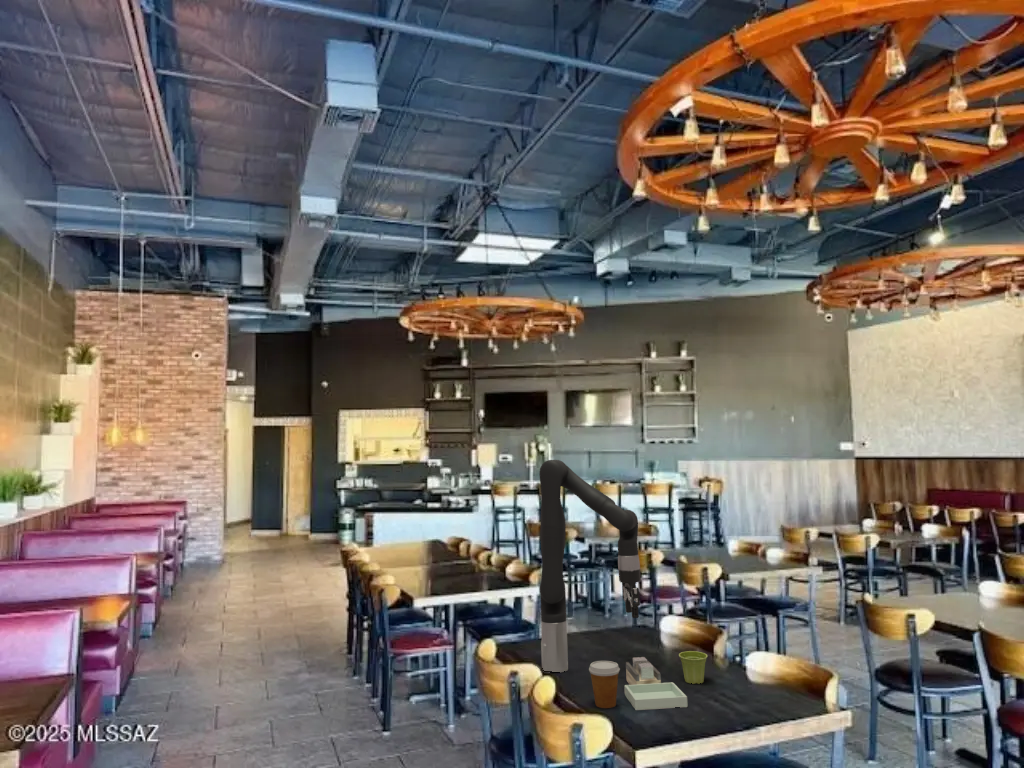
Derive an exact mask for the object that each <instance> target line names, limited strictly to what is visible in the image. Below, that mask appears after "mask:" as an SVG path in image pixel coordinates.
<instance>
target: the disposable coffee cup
mask: <svg viewBox="0 0 1024 768" xmlns="http://www.w3.org/2000/svg"><path fill="white" fill-rule="evenodd" d="M620 670H621V668H620V667H619V664H618V663H617V662H616V661H615V662H614V661H610V660H595V661H593V662H591V663H590V665H589V668H588V671H589V673H590V679H591V684H592V691H593V696H594V704H595V706H596V707H597V708H600V709H612V708H614V707H616V705H617V696H618V695H617V694H618V680H619V672H620Z"/></svg>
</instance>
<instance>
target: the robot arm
mask: <svg viewBox="0 0 1024 768" xmlns="http://www.w3.org/2000/svg"><path fill="white" fill-rule="evenodd" d="M539 484H540V485H539V486H540V494H541V495H540V496H541V499H540V500H541V501H540V504H541V505H540V524H539V525H540V534H539V535H540V537H539V538H540V550H541V552H540V553H541V559H542V561H541V562H542V565H541V566H542V568H541V578H540V579H541V580H540V584H539V585H540V586H539V593H540V623H541V624H540V625H541V627H540V630H541V641H540V649H541V650H540V655H541V669H542V668H543V669H542V671H543V670H544V671H552V672H560V673H564V671H565V672H567V671H568V670H569V659H568V658H569V654H568V650H569V649H568V630H567V629H568V627H567V626H568V625H567V623H568V622H567V600H566V595H567V594H566V583H565V579H564V571H563V570H564V568H563V566H564V563H563V561H564V557H565V555H564V554H565V547H566V535H567V534H566V533H567V532H566V529H567V528H566V525H567V523H566V518H565V517H566V516H565V513H564V508H563V504H562V499H561V494H562V493H561V492H562V491H561V489H562V487H563V488H564V489H567V490H568V491H569V492H571V493H572V494H573V495H575V496H576V497H577V498H578V499H579V500H580V501H581V502H582V503H584V504H585V506H587V507H588V508H590V509H591V510H592V511H594V512H595V513H597V514H598V515H600V516H601V517H602V518H604V519H605V520H606V521H607V522H608V523H609V525H612V526H613V527H614V528H615V529H617V530H619V538H618V540H617V566H618V581H619V582H620V583H621V585H622V587H621V588H622V598H623V601H624V604H625V605H624V606H625V613H627V614H629V613H631V617H632V619H638V618H639V614H640V613H639V606H641V599H640V588H639V587H637V585H636V584H637V583H639V582H641V581H642V580H641V565H640V564H641V563H640V557H639V545H638V534H639V520H638V516H637V513H635V511H633V510H631V509H625V510H624V509H623V508H621V507H620V506H619V505H618V504H616V501H614V499H612V498H611V497H609V496H608V495H606V494H605V493H603V492H602V491H600V490H599V489H597V488H596V487H594V486H592V485H591V484H589V483H588V482H587V481H586V480H584V479H582V478H581V477H580V476H579V475H578V474H576V473H575V472H574V471H573V470H572V469H571V468H570V467H569V466H568V465H567V464H566V463H564V462H563V461H562V460H560V459H547V460H546V461H544V462H543V463H542V464H541V466H540V468H539ZM544 671H543V672H544Z"/></svg>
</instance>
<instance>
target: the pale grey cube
mask: <svg viewBox="0 0 1024 768" xmlns="http://www.w3.org/2000/svg"><path fill="white" fill-rule="evenodd" d="M650 663H651V662H650ZM650 663H640V664H638V674H639V677H640V678H641V680H650V679H654V672H653V666H654V665H653V664H652V663H651V664H652V665H653V666H652V665H651V664H650Z"/></svg>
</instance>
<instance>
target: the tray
mask: <svg viewBox="0 0 1024 768" xmlns="http://www.w3.org/2000/svg"><path fill="white" fill-rule="evenodd" d="M623 688H624V696H625V697H626V699H627V700H628V702H629V703H630V704H631V706H632V707H633V708H634V709H635V711H644V710H645V711H646V710H659V709H660V710H661V709H664V710H665V709H676V708H675V707H680V708H688V696H687V695H686V694H685V693H684V692H683V691H682V690H681V689H680V688H679V687H678V686H677V685H676V684H675V683H674V682H661V683H653V684H637V685H630V684H625V685H624V687H623Z"/></svg>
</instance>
